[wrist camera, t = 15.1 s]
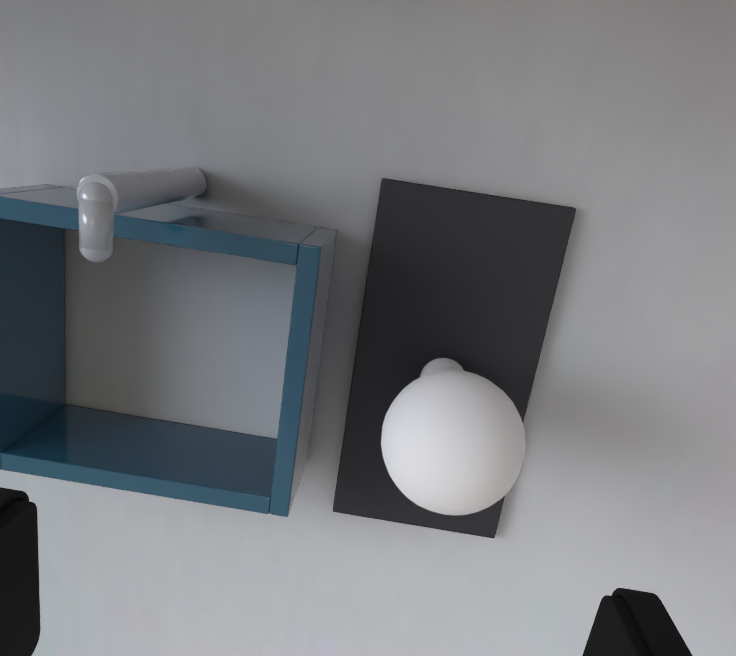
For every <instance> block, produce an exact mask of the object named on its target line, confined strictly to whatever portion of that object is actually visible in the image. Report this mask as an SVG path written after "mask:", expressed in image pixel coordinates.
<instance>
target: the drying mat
mask: <svg viewBox="0 0 736 656" xmlns="http://www.w3.org/2000/svg"><path fill="white" fill-rule="evenodd" d="M575 211H576V209H575V208H572V207H566V206H559V205H553V204H546V203H540V202H533V201H527V200H520V199H514V198H507V197H501V196H494V195H488V194H481V193H475V192H468V191H462V190H455V189H449V188H442V187H436V186H429V185H423V184H417V183H410V182H404V181H397V180H391V179H382V182H381V189H380V196H379V202H378V209H377V216H376V222H375V229H374V236H373V243H372V249H371V256H370V263H369V270H368V276H367V283H366V290H365V296H364V303H363V310H362V317H361V323H360V330H359V337H358V344H357V350H356V357H355V364H354V371H353V377H352V384H351V391H350V397H349V404H348V411H347V418H346V424H345V431H344V438H343V445H342V451H341V458H340V465H339V472H338V478H337V485H336V492H335V498H334V505H333V512H338V513H344V514H350V515H356V516H362V517H368V518H374V519H380V520H386V521H393V522H399V523H405V524H411V525H417V526H423V527H429V528H435V529H441V530H447V531H453V532H459V533H465V534H471V535H477V536H483V537H489V538H494V537H495V534H496V530H497V526H498V522H499V517H500V513H501V509H502V505H503V501H504V497H505V496H504V497H503V498H502V499H500V500H499V501H497V502H496V503H494V504H493V505H491V506H490V507H488V508H485V509H483V510H481V511H479V512H475V513H471V514H468V515H456V516H455V515H444V514H440V513H436V512H432V511H429V510H427V509H425V508H423V507H420V506H418V505H417V504H415V503H414V502H412V501H411V500H410V499H408V498H407V497H406V496H405V495H404V494H403V493H402V492H401V491H400V490H399V488H398V487H397V486H396V484H395V483H394V481H393V480H392V478H391V477H390V475H389V473H388V470H387V467H386V465H385V462H384V459H383V455H382V448H381V437H382V426H383V422H384V419H385V416H386V413H387V411H388V409H389V407H390V406H391V404H392V402H393V401H394V399H395V398H396V397H397V396H398V394H399V393H400V392H401V391H402V390H403V389H404V388H405V387H406V386H407V385H409V384H410V383H411V382H412V381H414V380H416V379H418V378H420V375H421V371H422V370H423V368H424V367H425V365H426V364H428V363H429V362H430V361H432V360H434V359H438V358H448V359H452V360H454V361H456V362H457V363H458V364H460V366H461V367H462V368H463V370H464V371H467V372H470V373H474V374H477V375H479V376H481V377H484V378H486V379H488V380H489V381H491V382H492V383H493V384H495V385H496V386H497V387H499V388H500V389H501V390H502V391H504V393H505V394H506V395H507V396H508V397H509V398H510V399H511V400H512V402H513V404H514V405H515V407H516V409H517V411H518V412H519V415H520V417H521V420H522V423H523V421H524V417H525V413H526V409H527V405H528V401H529V397H530V393H531V389H532V385H533V381H534V377H535V373H536V368H537V364H538V360H539V356H540V352H541V348H542V344H543V340H544V336H545V332H546V328H547V324H548V320H549V316H550V312H551V308H552V304H553V300H554V296H555V292H556V288H557V284H558V280H559V276H560V272H561V268H562V264H563V260H564V256H565V252H566V248H567V244H568V240H569V236H570V232H571V228H572V224H573V220H574V215H575Z"/></svg>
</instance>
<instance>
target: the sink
mask: <svg viewBox="0 0 736 656" xmlns="http://www.w3.org/2000/svg"><path fill="white" fill-rule="evenodd" d="M205 189H206V178H205V176H204V174H203V173H202V172H201V171H200V170H199V169H197V168H195V167H178V168H164V169H150V170H136V171H122V172H108V173H94V174H89V175H87V176H85V177H83V178H82V179H81V181H80V182H79V184H78V187H77V189H72V188H66V187H60V186H54V185H48V184H44V185H33V186H22V187H12V188H1V189H0V470H1V469H2V470H7V471H13V472H19V473H25V474H31V475H37V476H43V477H49V478H55V479H61V480H67V481H73V482H79V483H85V484H91V485H97V486H103V487H109V488H115V489H121V490H127V491H133V492H139V493H145V494H151V495H157V496H163V497H169V498H175V499H181V500H187V501H193V502H199V503H205V504H211V505H217V506H223V507H229V508H235V509H241V510H247V511H253V512H259V513H265V514H269V513H270V514H272V515H278V516H284V517H288V515H289V513H290V509H291V506H292V503H293V500H294V497H295V494H296V491H297V488H298V485H299V482H300V479H301V476H302V473H303V470H304V467H305V464H306V461H307V457H308V449H309V442H310V434H311V426H312V418H313V411H314V403H315V395H316V388H317V380H318V372H319V364H320V357H321V349H322V341H323V333H324V326H325V318H326V310H327V303H328V295H329V287H330V279H331V272H332V264H333V256H334V249H335V241H336V233H337V231H336V230H335V229H329V228H322V227H319V228H318V227H316V226H310V225H303V224H297V223H290V222H284V221H277V220H271V219H265V218H258V217H252V216H245V215H239V214H233V213H226V212H220V211H213V210H207V209H201V208H194V207H188V206H181V205H175V204H169V203H172V202H177V201H181V200H186V199H190V198H195V197H198V196H200V195H202V194H203V192H204V191H205ZM64 229H69V230H75V231H79V250H80V253H81V254H82V256H83V257H84V258H86V259H87V260H89V261H91V262H103V261H105V260H107V259H108V258H109V257H110V256H111V255H112V253H113V249H114V237H120V238H126V239H133V240H139V241H145V242H152V243H158V244H164V245H171V246H177V247H183V248H190V249H196V250H202V251H209V252H215V253H221V254H228V255H234V256H240V257H247V258H253V259H259V260H266V261H272V262H279V263H285V264H291V265H296V264H297V267H296V276H295V285H294V294H293V303H292V312H291V321H290V330H289V339H288V348H287V357H286V366H285V375H284V384H283V393H282V402H281V411H280V420H279V429H278V438H277V439H272V438H266V437H260V436H253V435H247V434H241V433H235V432H229V431H223V430H217V429H211V428H205V427H199V426H192V425H186V424H180V423H174V422H168V421H162V420H156V419H150V418H144V417H137V416H131V415H125V414H119V413H113V412H107V411H101V410H95V409H89V408H83V407H76V406H70V405H66V398H65V287H64Z"/></svg>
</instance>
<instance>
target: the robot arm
mask: <svg viewBox="0 0 736 656" xmlns="http://www.w3.org/2000/svg"><path fill="white" fill-rule="evenodd" d="M39 635H40V602H39V564H38V527H37V507H36V505H35V503H33V502H29V498H28V495H27V494H26V493H25V492H23V491H18V490H12V489H6V488H0V656H31V655H32V654H33V652H34V650H35V648H36V645H37V643H38V640H39ZM583 656H692V654H691V653H690V651H689V649H688V647H687V646H686V644H685V642H684V640H683V639H682V637H681V635H680V633H679V632H678V630H677V628H676V626H675V625H674V623H673V621H672V619H671V618H670V616H669V614H668V612H667V611H666V609H665V607H664V605H663V604H662V602H661V600H660V599H659V598H658V596H657V595H655V594H653V593H648V592H642V591H636V590H630V589H624V588H617V589H616V590H615V591H614V592H613V594H612V596H608V595H607V596H604V597H603V598H602V600H601V602H600V605H599V608H598V611H597V614H596V617H595V620H594V623H593V626H592V629H591V632H590V635H589V638H588V641H587V644H586V647H585V650H584V653H583Z"/></svg>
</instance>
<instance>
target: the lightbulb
mask: <svg viewBox="0 0 736 656" xmlns="http://www.w3.org/2000/svg"><path fill="white" fill-rule="evenodd" d="M381 448H382V455H383V459H384V462H385V465H386V467H387V470H388V473H389V475H390V477H391V478H392V480H393V481H394V483H395V484H396V486H397V487H398V488H399V490H400V491H401V492H402V493H403V494H404V495H405V496H406V497H407V498H408V499H410V500H411V501H412V502H414V503H415V504H417V505H418V506H420V507H423V508H425V509H427V510H429V511H432V512H436V513H440V514H444V515H455V516H456V515H468V514H471V513H475V512H479V511H481V510H483V509H485V508H488V507H490V506H491V505H493V504H494V503H496V502H497V501H499V500H500V499H502V498H503V497H504V496H505V495H506V494H507V493H508V492H509V491H510V489H511V488H512V486H513V485H514V483H515V482H516V480H517V479H518V476H519V473H520V471H521V468H522V465H523V463H524V457H525V450H526V441H525V430H524V426H523V423H522V420H521V417H520V415H519V412H518V411H517V409H516V407H515V405H514V404H513V402H512V400H511V399H510V398H509V397H508V396H507V395H506V394H505V393H504V391H502V390H501V389H500V388H499V387H497V386H496V385H495V384H493V383H492V382H491V381H489V380H488V379H486V378H484V377H481V376H479V375H477V374H474V373H470V372H467V371H464V370H463V368H462V367H461V366H460V364H458V363H457V362H456V361H454V360H452V359H448V358H438V359H434V360H432V361H430V362H429V363H428V364H426V365H425V367H424V368H423V370H422V371H421V375H420V378H418V379H416V380H414V381H412V382H411V383H410V384H409V385H407V386H406V387H405V388H404V389H403V390H402V391H401V392H400V393H399V394H398V396H397V397H396V398H395V399H394V401H393V402H392V404H391V406H390V407H389V409H388V411H387V413H386V416H385V419H384V422H383V426H382V437H381Z"/></svg>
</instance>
